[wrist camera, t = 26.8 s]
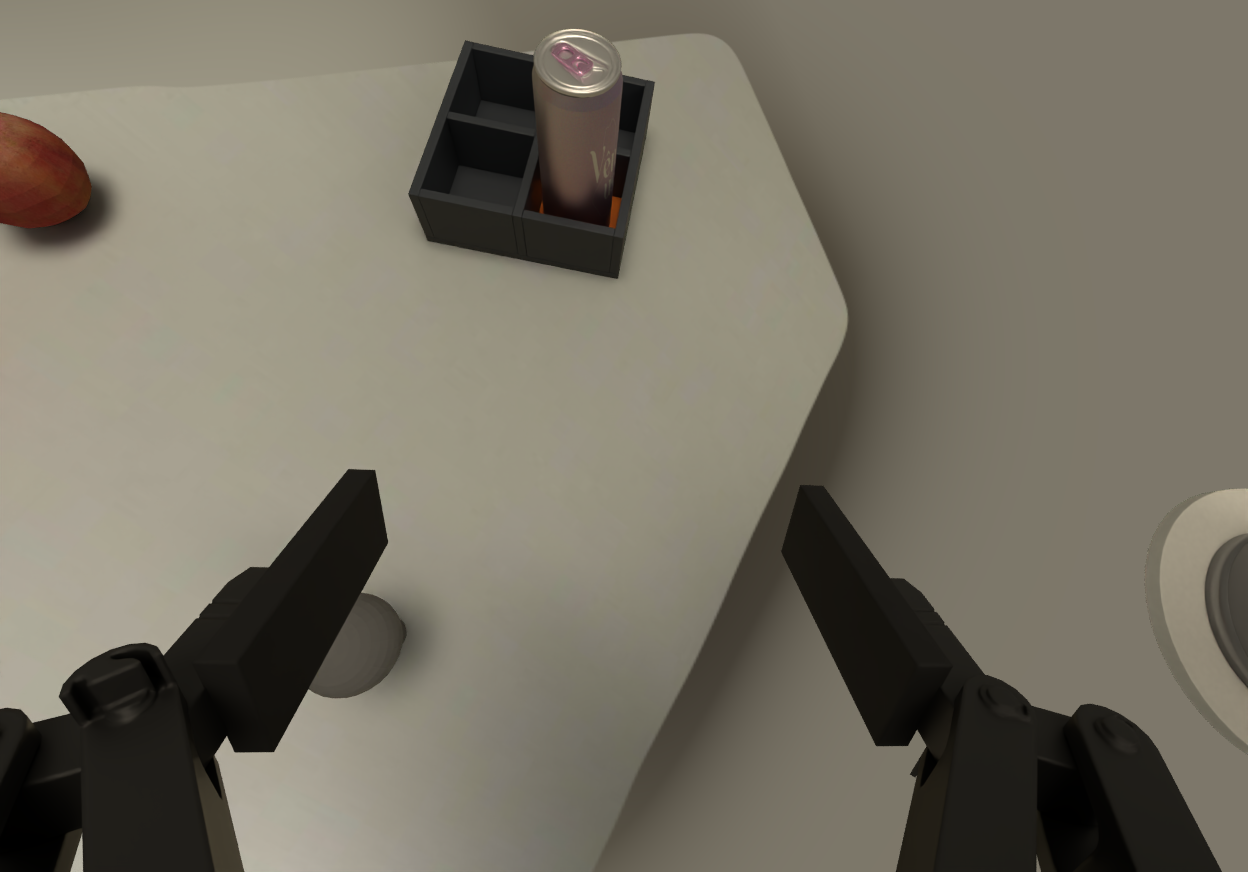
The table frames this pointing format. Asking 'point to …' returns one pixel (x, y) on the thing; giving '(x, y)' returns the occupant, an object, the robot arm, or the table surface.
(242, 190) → the table surface
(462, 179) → the tray
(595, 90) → the beverage can
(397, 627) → the light bulb
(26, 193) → the fruit
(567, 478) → the table surface
